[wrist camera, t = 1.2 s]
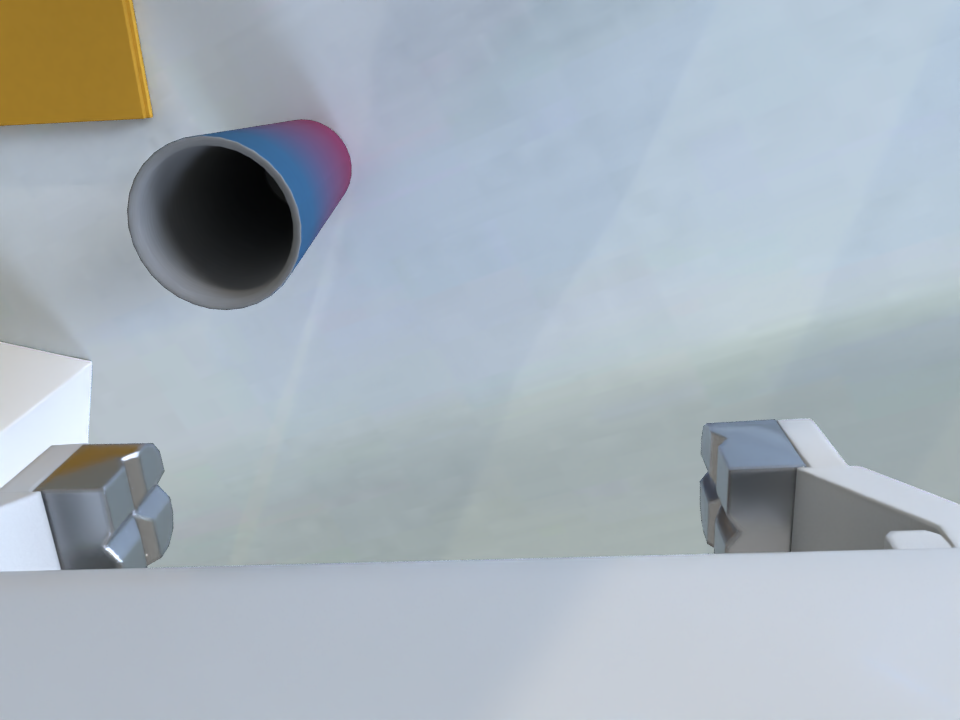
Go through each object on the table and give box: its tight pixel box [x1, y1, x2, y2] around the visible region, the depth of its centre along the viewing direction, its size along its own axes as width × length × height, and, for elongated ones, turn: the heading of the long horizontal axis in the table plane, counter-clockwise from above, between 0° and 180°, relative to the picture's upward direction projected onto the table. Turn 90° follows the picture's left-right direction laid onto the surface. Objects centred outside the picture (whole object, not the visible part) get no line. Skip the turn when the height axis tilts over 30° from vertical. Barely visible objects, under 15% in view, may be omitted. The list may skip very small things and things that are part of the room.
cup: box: [127, 120, 351, 310], centre depth 41 cm, size 7×7×15 cm
